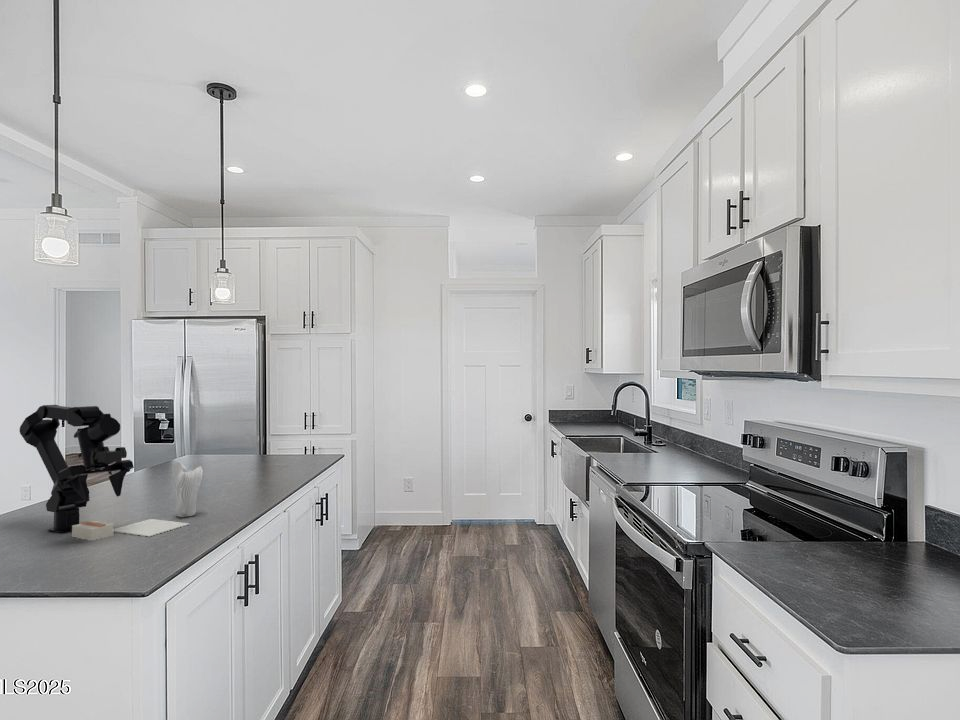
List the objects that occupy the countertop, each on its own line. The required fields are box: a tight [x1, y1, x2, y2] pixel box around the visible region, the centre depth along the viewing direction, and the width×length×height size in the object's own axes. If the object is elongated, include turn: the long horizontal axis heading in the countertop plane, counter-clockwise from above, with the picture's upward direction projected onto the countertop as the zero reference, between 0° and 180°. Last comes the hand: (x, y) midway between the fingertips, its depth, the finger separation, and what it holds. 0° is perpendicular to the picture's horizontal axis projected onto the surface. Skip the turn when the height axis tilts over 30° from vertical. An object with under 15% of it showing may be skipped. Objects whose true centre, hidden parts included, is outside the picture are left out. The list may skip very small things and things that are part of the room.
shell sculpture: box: [171, 460, 204, 518], centre depth 185 cm, size 8×8×18 cm
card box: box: [71, 520, 115, 541], centre depth 161 cm, size 9×6×4 cm, turn 67°
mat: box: [113, 518, 190, 538], centre depth 170 cm, size 16×14×1 cm
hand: (103, 498), depth 160 cm, fingers open, 9 cm apart
